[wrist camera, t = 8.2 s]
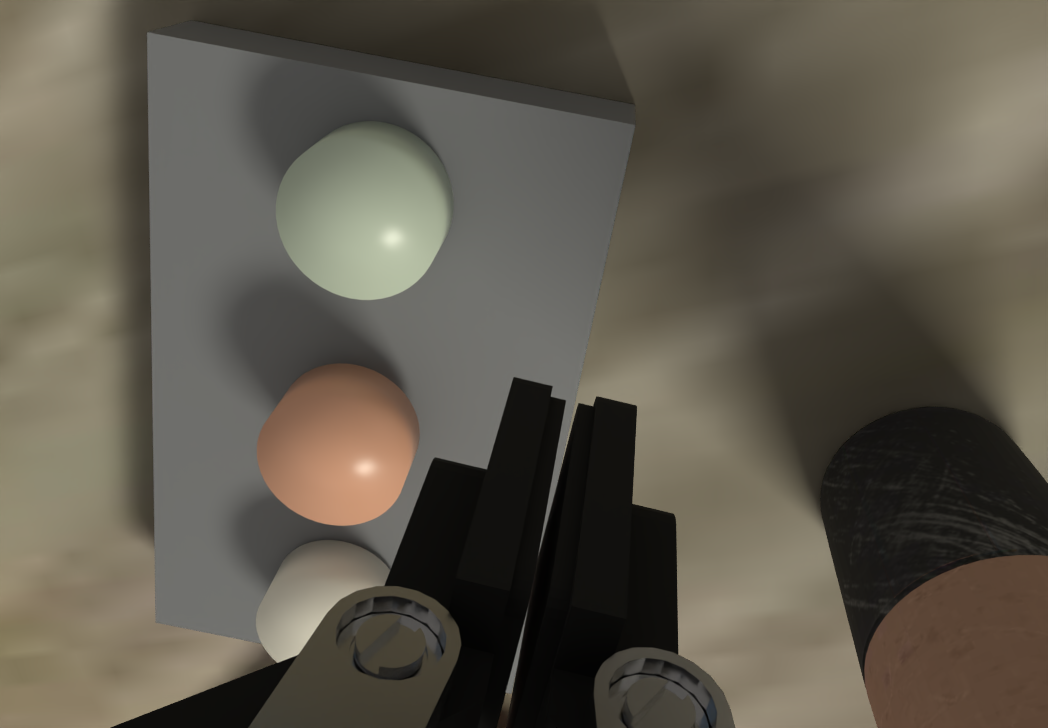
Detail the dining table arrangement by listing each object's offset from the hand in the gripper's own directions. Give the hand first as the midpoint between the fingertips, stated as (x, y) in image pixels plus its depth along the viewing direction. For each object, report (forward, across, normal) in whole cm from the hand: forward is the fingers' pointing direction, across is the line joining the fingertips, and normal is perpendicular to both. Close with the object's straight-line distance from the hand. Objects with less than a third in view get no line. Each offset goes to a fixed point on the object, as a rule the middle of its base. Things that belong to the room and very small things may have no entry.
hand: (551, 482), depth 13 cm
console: (+18, +6, +10) cm, 22 cm away
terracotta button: (+15, +6, +10) cm, 20 cm away
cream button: (+16, +6, +18) cm, 25 cm away
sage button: (+17, +6, +3) cm, 18 cm away
